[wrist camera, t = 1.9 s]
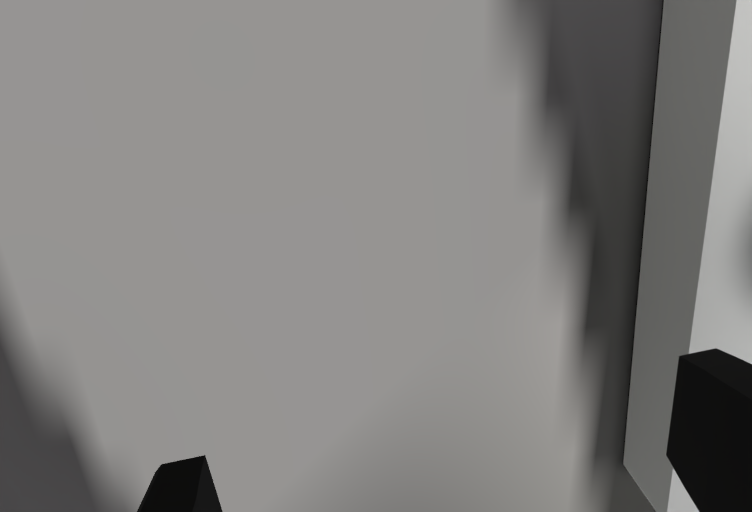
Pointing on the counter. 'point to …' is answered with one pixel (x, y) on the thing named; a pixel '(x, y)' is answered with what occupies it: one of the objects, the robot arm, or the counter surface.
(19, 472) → the counter surface
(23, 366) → the counter surface
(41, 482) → the counter surface
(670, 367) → the deck
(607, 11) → the counter surface
